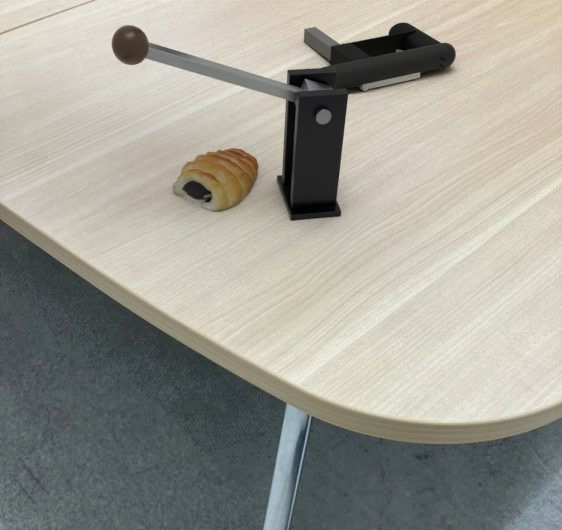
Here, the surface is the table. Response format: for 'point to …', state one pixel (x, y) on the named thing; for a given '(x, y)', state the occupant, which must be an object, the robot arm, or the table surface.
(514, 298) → the table surface
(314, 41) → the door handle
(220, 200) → the pastry
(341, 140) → the black lever stand
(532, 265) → the table surface
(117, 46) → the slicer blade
